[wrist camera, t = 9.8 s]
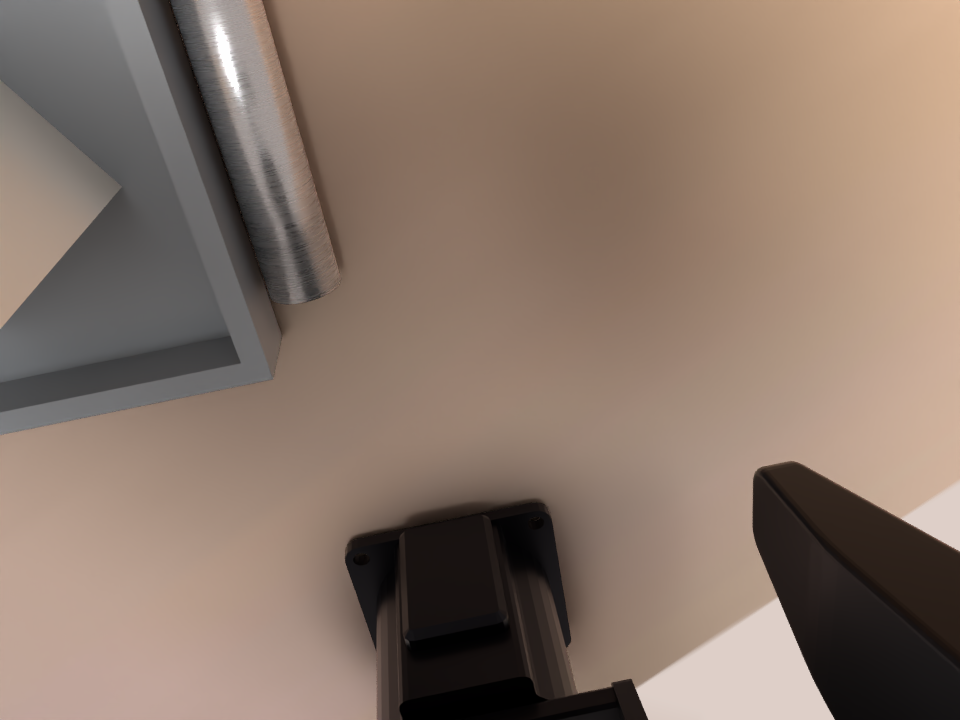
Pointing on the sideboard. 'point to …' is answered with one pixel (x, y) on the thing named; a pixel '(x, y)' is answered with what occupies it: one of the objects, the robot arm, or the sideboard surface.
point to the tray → (130, 225)
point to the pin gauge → (260, 144)
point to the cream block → (40, 198)
